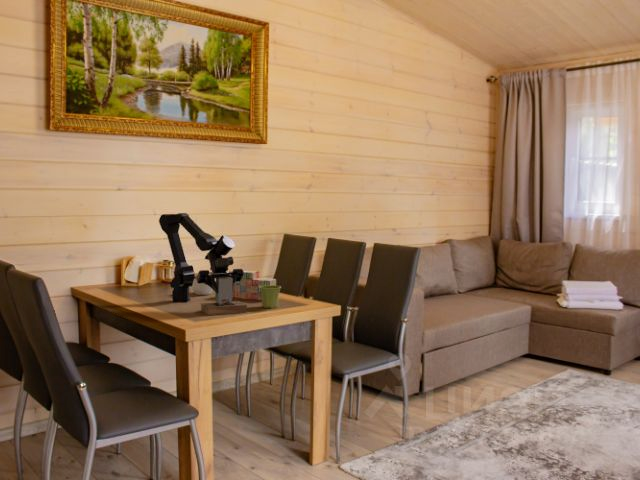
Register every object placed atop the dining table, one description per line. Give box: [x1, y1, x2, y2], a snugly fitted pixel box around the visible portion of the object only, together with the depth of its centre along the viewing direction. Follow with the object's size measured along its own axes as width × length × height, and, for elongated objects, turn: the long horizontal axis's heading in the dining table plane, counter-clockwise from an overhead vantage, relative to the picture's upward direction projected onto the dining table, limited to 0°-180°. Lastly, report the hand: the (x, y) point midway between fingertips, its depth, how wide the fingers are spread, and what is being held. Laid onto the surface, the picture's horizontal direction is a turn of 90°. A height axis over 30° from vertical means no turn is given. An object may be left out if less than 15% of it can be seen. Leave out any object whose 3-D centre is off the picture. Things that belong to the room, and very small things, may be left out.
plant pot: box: [259, 285, 282, 309], centre depth 272 cm, size 9×9×9 cm
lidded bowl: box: [190, 272, 216, 296], centre depth 301 cm, size 13×13×11 cm
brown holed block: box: [200, 300, 248, 316], centre depth 260 cm, size 10×16×3 cm, turn 117°
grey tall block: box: [214, 277, 233, 306], centre depth 260 cm, size 4×6×12 cm
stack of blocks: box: [228, 269, 277, 301], centre depth 293 cm, size 21×6×12 cm, turn 67°
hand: (224, 292), depth 259 cm, fingers closed on grey tall block, 6 cm apart
